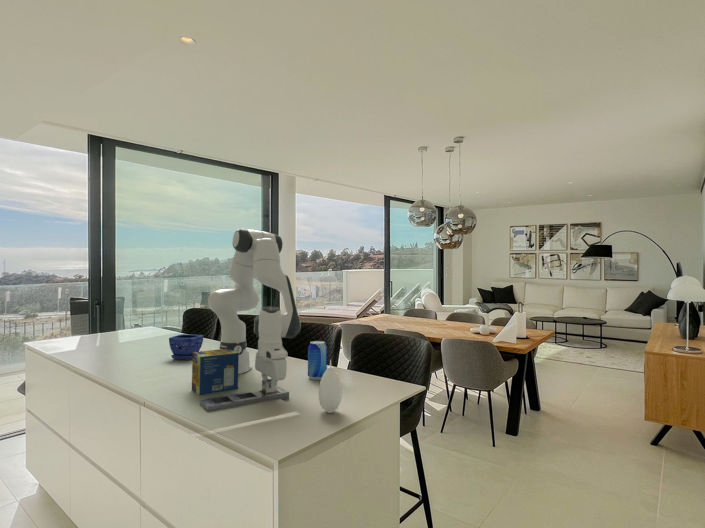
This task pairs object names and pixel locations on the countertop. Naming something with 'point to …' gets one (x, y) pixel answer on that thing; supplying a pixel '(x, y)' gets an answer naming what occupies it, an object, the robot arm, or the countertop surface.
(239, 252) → the robot arm
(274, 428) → the countertop surface
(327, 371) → the white teardrop vase
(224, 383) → the protein box
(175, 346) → the flower pot
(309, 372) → the beer can
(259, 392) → the grey compartment tray
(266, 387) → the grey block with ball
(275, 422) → the countertop surface
